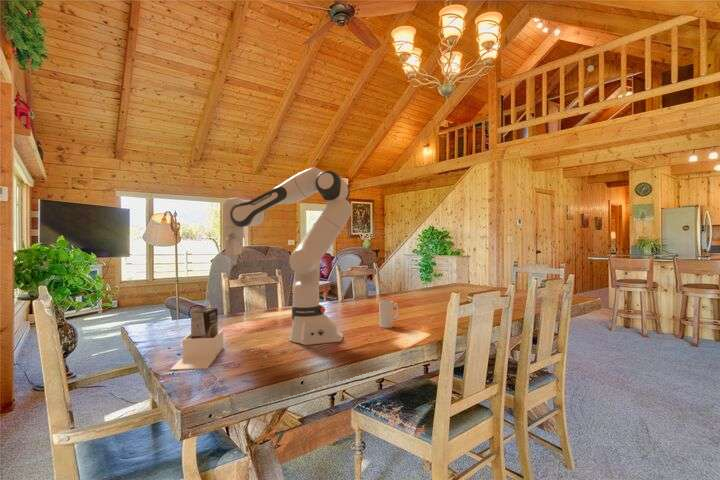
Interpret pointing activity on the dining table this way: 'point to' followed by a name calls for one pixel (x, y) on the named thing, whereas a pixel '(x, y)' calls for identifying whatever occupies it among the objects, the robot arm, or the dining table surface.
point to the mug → (387, 313)
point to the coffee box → (204, 323)
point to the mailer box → (199, 352)
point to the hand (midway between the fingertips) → (234, 264)
